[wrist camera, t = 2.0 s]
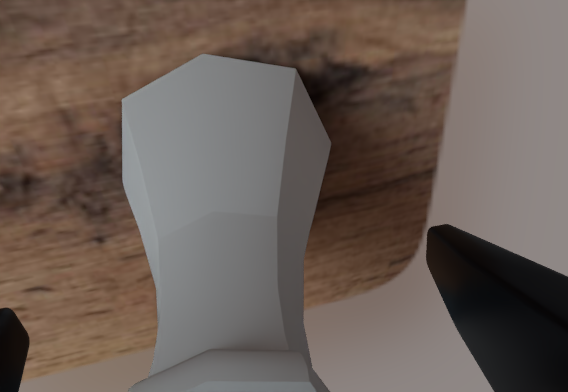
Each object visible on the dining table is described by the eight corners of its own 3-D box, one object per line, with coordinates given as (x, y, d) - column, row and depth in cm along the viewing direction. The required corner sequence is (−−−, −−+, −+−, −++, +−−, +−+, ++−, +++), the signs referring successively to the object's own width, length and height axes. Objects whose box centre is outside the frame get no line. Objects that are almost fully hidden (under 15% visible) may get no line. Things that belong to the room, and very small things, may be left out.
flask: (337, 224, 16) (467, 520, 8) (155, 259, 16) (74, 608, 7) (319, 31, 13) (527, 177, 4) (83, 72, 12) (-246, 325, 4)
